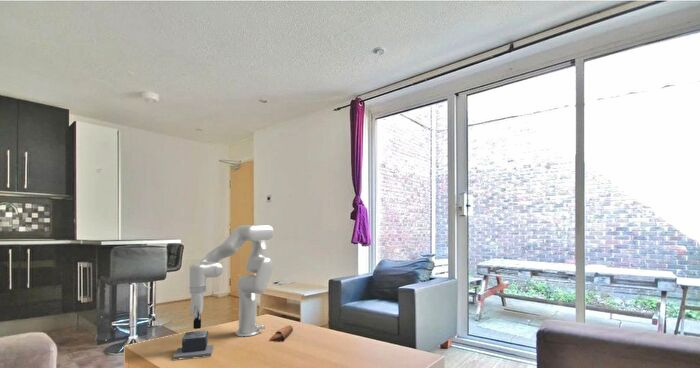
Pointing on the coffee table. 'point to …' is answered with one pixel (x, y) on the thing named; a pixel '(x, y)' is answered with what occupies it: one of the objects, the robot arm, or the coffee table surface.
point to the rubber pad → (193, 353)
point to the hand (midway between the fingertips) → (197, 328)
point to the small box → (195, 341)
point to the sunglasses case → (282, 334)
